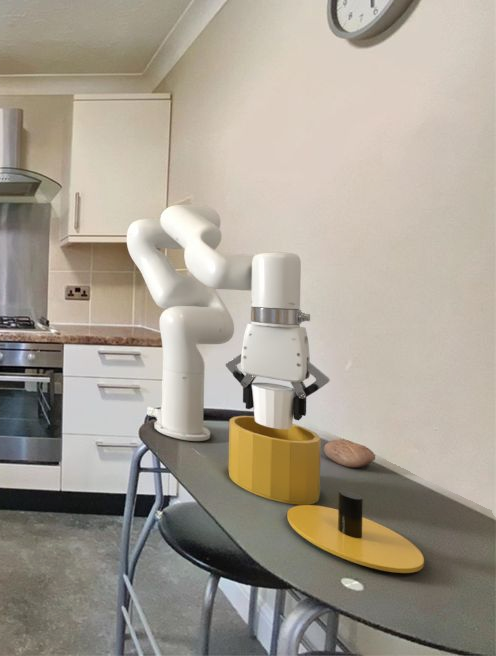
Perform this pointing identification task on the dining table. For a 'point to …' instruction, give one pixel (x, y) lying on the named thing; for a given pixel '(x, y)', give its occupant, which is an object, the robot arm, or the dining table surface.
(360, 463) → the bread roll
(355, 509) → the lid
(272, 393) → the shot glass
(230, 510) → the dining table surface
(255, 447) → the tin
